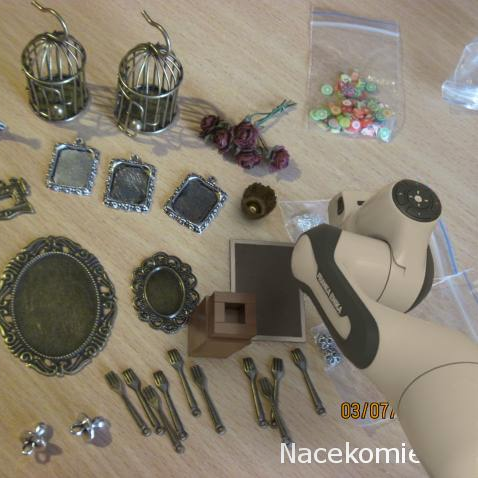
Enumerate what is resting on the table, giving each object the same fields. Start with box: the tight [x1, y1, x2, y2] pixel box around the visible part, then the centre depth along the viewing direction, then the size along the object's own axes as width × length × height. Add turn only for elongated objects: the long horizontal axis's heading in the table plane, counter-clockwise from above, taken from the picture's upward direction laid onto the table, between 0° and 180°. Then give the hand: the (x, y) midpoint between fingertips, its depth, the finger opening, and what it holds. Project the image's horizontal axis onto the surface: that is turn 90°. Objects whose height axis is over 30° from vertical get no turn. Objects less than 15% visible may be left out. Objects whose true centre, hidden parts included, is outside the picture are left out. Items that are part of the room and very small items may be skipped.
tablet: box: [229, 238, 308, 344], centre depth 118 cm, size 22×16×1 cm
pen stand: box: [187, 290, 257, 360], centre depth 102 cm, size 8×8×25 cm
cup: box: [240, 181, 278, 221], centre depth 121 cm, size 8×7×8 cm
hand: (330, 265), depth 101 cm, fingers closed
